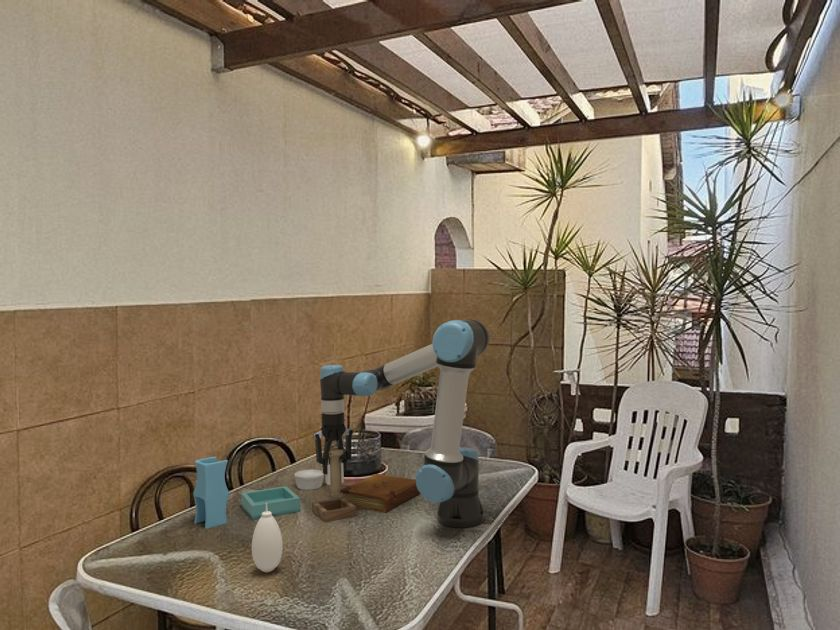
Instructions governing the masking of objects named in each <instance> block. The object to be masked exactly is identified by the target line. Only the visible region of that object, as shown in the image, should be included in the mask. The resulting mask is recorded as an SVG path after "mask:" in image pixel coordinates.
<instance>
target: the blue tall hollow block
mask: <svg viewBox="0 0 840 630" xmlns="http://www.w3.org/2000/svg"><path fill="white" fill-rule="evenodd" d="M228 461H229V460H228V459H225V460H219V461H217V456H212V457H210V456H209V457H206V458H205V457H204V458H201V459H196V460H194V464H195V468H196V476H197V477H196V482H195V483H196V484H195V487H194V490H193V491H192V492H193V494H192V495H193V498H194V502H195V518H194V521H193V524H194V525H197V524H200V523H202V522H205V524H204V529H205V530H208V529H212V528H215V527H218V526H222V525H224V524H227V523H228V519H227V504H228V499H229V495H230V492H229V489H228V487H227V484H226V480H225V479H226V478H225V475H226V469H227V465H228Z"/></svg>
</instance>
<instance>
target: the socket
mask: <svg viewBox="0 0 840 630" xmlns="http://www.w3.org/2000/svg"><path fill="white" fill-rule="evenodd" d="M311 508H312V509H311V510H312V511H311V512H312V513H314V514H315V515H316V516H317V517H318V518H319V519H320V520H322V521H323V522H324V523H327V522H332V521H337V520H338V521H339V520H343V519H349V518H353V517H355V518H356V517H357V516H358V513H357V511H358V510H357V509H358V508H357V507H356V506H354V505H353V504H352V503H350V502H349V501H347V500H346V499H345V498H343V496H342V497H337V498H329V499H325V500H324V499H323V500H320V501H319V500H318V501H313V502H312V504H311Z"/></svg>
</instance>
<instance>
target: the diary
mask: <svg viewBox="0 0 840 630" xmlns="http://www.w3.org/2000/svg"><path fill="white" fill-rule="evenodd" d="M339 491H340V494H341V493H342V497H343V498H345V499H346V500H347V501H349V502H350V503H352V504H353V505H354V506H356V507H357V509H361V510H368V511H373V512H378V513H382V514H383V513H387V512H389V511H391V510H393V509H395V508H396V507H398V506H400V505H402V504H404V503H406V502H408V501H410V500H411V499H413V498H414V497H417V496H418V495H421V493H420V492H419V491H418V489H417V486H416V479H413V478H406V477H401V476H393V475H388V474H381V473H376V474H373V475H371V476H369V477H367V478H364V479H362V480H360V481H357V482H355V483H352V484H350V485H348V486H345V487H344V488H342V489H341V488H340V490H339Z"/></svg>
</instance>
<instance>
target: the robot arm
mask: <svg viewBox="0 0 840 630" xmlns="http://www.w3.org/2000/svg"><path fill="white" fill-rule="evenodd" d="M431 341H432V343H431V344H429V345H427V346H424V347H421V348H419V349H417V350H414V351H413V352H410V353H407V354H405V355H404V356H402V357H399V358H396V359H394V360H392V361H389V362H388V363H385V364H383V365H380V366H378V367H377V368H372V369H366V370H361V371H344V367H343V365H341V364H328V365H323V366H322V367H320V378H319V380H320V381H319V382H320V396H321V397H320V404H321V405H320V406H321V407H320V410H321V415H320V416H321V428H320V430H319V431H317V432H314V433H313V434H312V437H313V438H314V441H315V442H314V443H315V444H314V445H315V457H316V462H317V463H318V464H319V465H321V466H322V467H321V468H322V471H323V474H324V478H325V479H324V480H325V484H327V486H329V485H331V481H330V465H329V451H330V448H331V446H332V443H333V441H335V442H336V446H337V448H338V449H340V450H343V454H342V455H341V456H339V465H340V476H341V483H344V482H345V477H344V475H345V473H344V472H346V470H347V463H348V461H349V460H351V459H352V439H353V438H352V437H353V434H354V430H353V429H351V428H347V427H346V425H345V423H346V422H345V413H344V411H345V397H344V396H357V397H372V396H373V395H374V393H376V392H378V391H385V390H387V389H390V388H391V387H392V386H394V385H397V384H399V383H401V382H405V381H406V380H409V379H411V378H414V377H416V376H419V375H420V374H423V373H426V372H428V371H430V370H433V369H436V368H439V370H440V371H439V378H438V379H439V380H438V388H437V395H436V403H435V412H434V419H433V425H432V434H431V435H432V436H431V443H430V447H428V449H427V450H425V452H424V458H423V465H422V466H421V467H420V468H419V469H418V471H417V472H416V475H415V480H416V486H417V489H418V491H419V492H420V495H421V496H422V498H423V499H425V500H427V501H428V502H430V503H437V504H439V505H438V509H437V512H436V520H437V522H438V523H439V524H441V525H443V526H446V527H452V528H463V529H464V528H471V527H472V528H473V527H476V526H479V525H482V524H483V523H484V521H485V511H484V509H483V504H482V502H481V499H480V494H479V493H480V492H479V483H480V482H479V481H480V480H479V461H480V459H479V453H478V451H477V450H476V449H475V448H471V447H464V446H461V440H462V431H463V424H464V423H463V422H464V416H465V415H464V414H465V409H466V407H465V406H466V400H467V392H468V385H469V378H470V374H471V373H472V371H474V370H475V369H476V363H477V358H478V357H479V356H480V355H482V354H483V353H484V352H486V350H487V349H488V347H489V344H490V333H489V330H488V329H487V327H486V326H485V325H484V324H483V323H482V322H481V321H479V320H475V319H453V320H449V321H446V322H444V323H443V324H440V325H439V326H438V327H437V329H436V330H435V332H434V334H433V336H432V340H431ZM344 434H345V438H344V439H345V446H344V443H343V435H344ZM322 436H323V437H324V446H323V447H322ZM344 447H345V448H344ZM322 448H323V450H322Z"/></svg>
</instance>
